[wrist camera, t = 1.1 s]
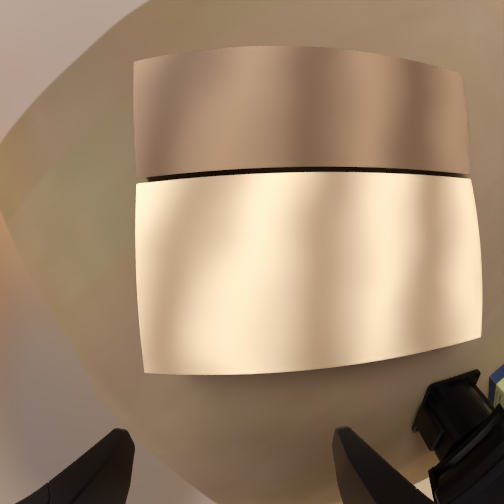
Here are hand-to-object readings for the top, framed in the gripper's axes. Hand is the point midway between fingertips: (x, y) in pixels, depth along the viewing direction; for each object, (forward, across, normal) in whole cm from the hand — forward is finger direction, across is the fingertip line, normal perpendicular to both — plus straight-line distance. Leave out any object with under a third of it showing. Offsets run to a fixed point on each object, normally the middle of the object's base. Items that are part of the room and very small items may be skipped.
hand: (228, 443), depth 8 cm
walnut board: (+11, -5, -11) cm, 17 cm away
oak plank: (+9, -5, -2) cm, 11 cm away
